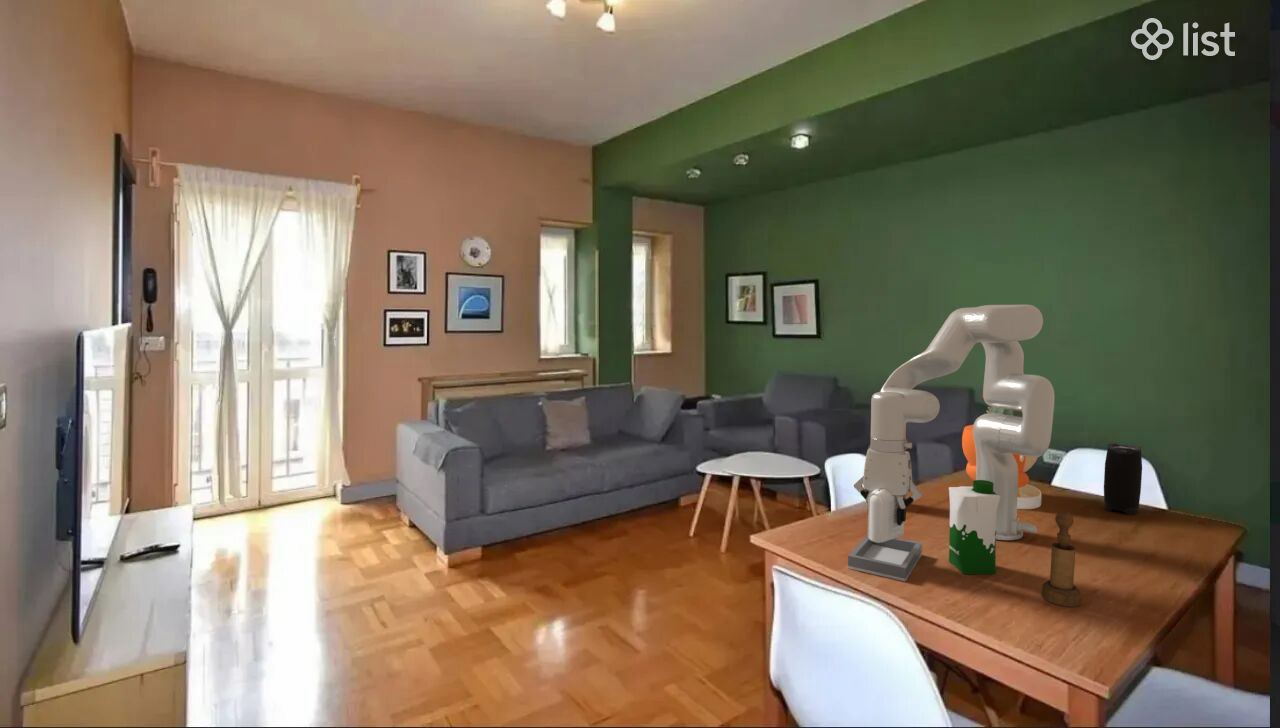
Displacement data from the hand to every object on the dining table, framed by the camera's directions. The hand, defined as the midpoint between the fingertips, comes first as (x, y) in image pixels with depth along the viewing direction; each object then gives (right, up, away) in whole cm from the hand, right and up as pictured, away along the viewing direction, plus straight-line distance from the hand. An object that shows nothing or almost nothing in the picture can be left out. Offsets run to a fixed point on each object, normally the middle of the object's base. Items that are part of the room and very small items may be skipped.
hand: (886, 520), depth 142 cm
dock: (0, -10, +1) cm, 10 cm away
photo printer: (0, -4, 0) cm, 4 cm away
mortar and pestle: (+28, -11, -19) cm, 35 cm away
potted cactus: (+54, -5, +47) cm, 72 cm away
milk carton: (+18, -10, -3) cm, 21 cm away
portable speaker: (+82, -6, +33) cm, 88 cm away
